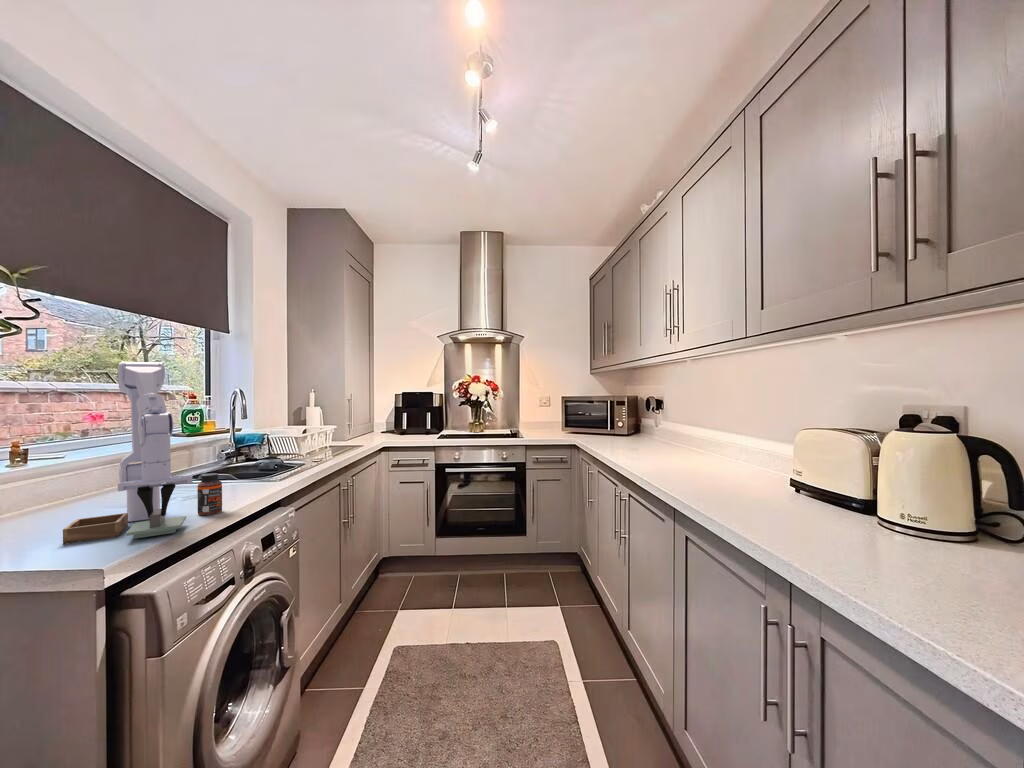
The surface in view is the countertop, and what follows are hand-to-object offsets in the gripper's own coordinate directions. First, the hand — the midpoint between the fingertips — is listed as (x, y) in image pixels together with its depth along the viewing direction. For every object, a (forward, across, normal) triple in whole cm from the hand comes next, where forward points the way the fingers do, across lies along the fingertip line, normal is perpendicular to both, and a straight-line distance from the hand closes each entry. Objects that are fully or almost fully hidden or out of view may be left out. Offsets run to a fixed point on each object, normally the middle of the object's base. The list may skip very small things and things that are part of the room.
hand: (157, 515), depth 112 cm
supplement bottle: (+5, +10, +15) cm, 19 cm away
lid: (+4, 0, 0) cm, 4 cm away
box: (+4, -13, +8) cm, 16 cm away
